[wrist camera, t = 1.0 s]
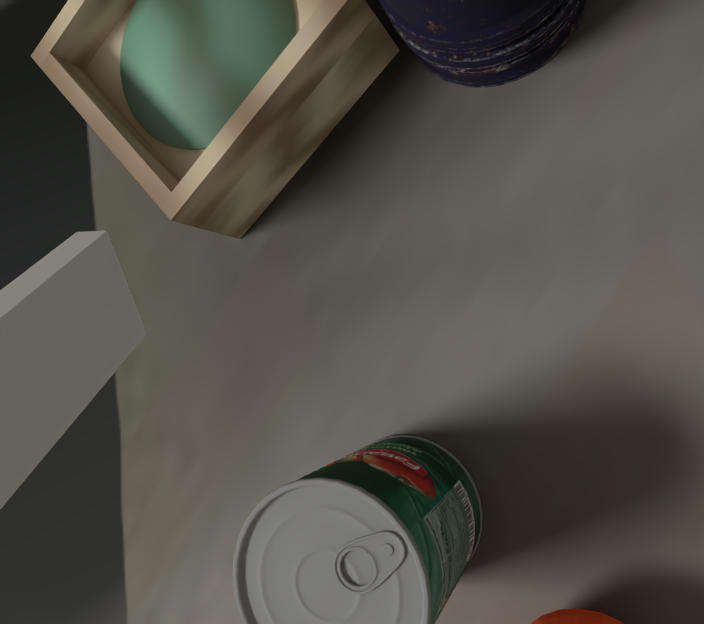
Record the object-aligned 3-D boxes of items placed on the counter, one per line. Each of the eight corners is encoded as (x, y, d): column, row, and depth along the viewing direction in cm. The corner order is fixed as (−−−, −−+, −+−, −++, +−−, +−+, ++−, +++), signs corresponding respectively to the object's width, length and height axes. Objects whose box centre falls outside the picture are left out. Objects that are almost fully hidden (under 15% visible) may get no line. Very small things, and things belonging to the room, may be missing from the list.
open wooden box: (245, -85, 38) (178, -165, 32) (399, 50, 34) (356, -12, 28) (114, 97, 41) (30, 56, 35) (240, 238, 37) (170, 220, 31)
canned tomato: (390, 611, 33) (297, 736, 23) (314, 481, 35) (197, 541, 25) (515, 541, 31) (475, 644, 20) (427, 405, 33) (350, 438, 22)
